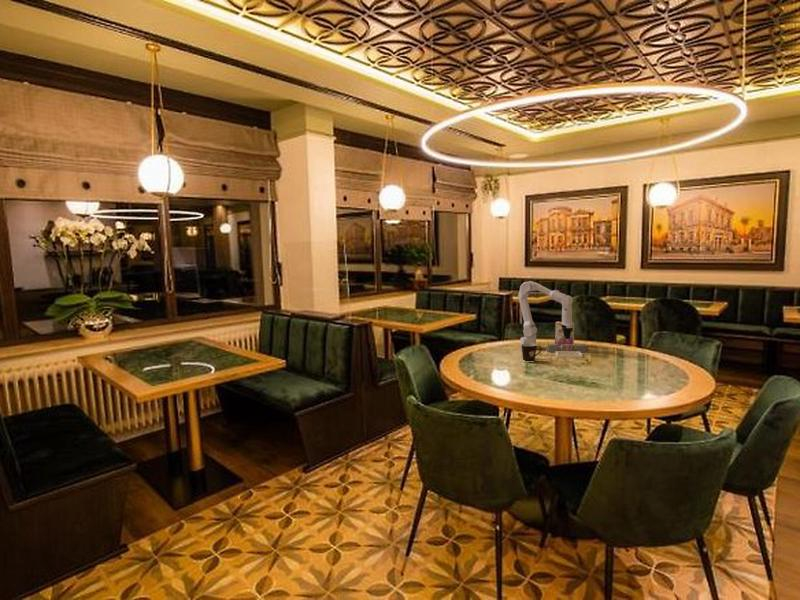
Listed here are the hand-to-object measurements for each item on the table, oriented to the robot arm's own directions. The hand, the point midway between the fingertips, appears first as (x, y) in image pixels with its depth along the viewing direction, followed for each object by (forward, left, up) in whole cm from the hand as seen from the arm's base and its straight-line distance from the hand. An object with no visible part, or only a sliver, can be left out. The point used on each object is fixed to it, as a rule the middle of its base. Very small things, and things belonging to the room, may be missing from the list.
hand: (566, 337), depth 285 cm
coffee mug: (-28, -13, -10) cm, 33 cm away
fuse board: (0, 0, -10) cm, 10 cm away
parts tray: (-3, -9, -10) cm, 14 cm away
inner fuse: (-8, +3, -9) cm, 12 cm away
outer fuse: (+7, -3, -9) cm, 12 cm away
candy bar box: (+7, +17, -10) cm, 21 cm away
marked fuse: (0, 0, -9) cm, 9 cm away
